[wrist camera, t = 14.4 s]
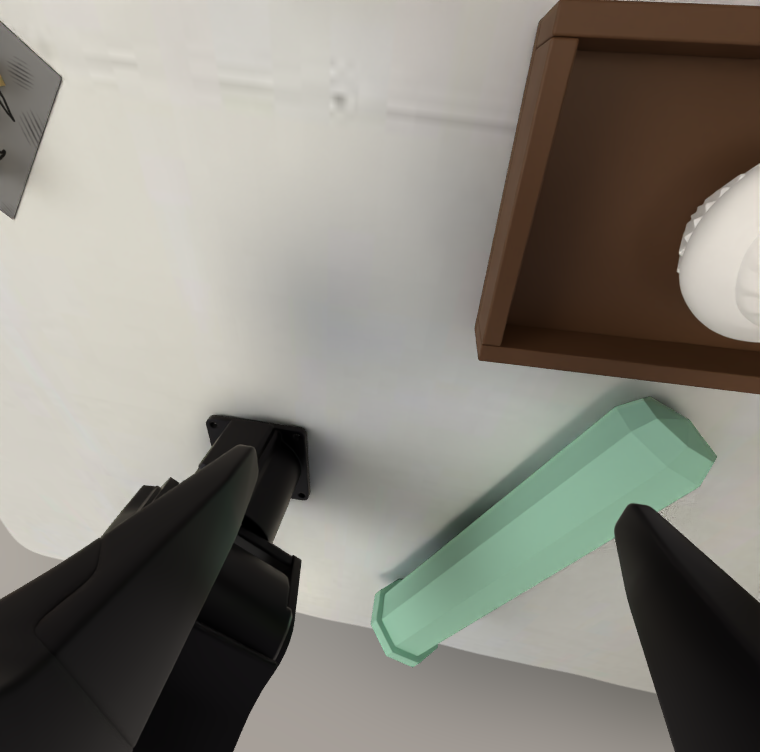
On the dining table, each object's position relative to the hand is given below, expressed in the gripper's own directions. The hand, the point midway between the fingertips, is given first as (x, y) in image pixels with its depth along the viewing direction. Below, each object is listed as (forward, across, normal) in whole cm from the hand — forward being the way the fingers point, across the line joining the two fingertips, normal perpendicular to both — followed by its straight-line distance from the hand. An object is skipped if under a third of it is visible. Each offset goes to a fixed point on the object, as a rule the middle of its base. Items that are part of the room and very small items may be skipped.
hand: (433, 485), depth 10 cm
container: (+12, -7, +14) cm, 20 cm away
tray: (+11, -11, -5) cm, 16 cm away
